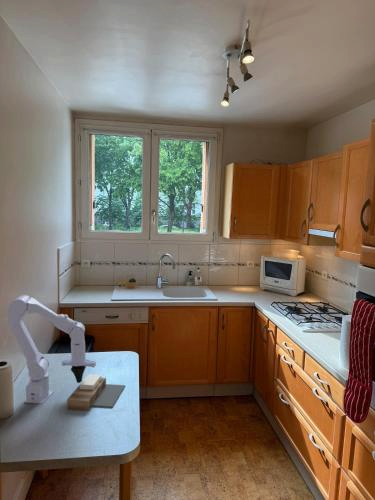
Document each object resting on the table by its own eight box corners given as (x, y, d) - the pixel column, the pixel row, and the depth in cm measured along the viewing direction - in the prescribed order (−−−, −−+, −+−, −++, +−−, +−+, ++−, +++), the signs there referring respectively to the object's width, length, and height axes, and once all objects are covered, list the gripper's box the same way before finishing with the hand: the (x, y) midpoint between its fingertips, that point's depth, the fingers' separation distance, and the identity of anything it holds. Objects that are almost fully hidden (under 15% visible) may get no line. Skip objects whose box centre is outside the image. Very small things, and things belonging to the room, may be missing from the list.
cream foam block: (93, 389, 143) (93, 385, 142) (79, 388, 143) (79, 384, 143) (101, 379, 152) (101, 375, 151) (88, 378, 152) (88, 374, 152)
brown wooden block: (89, 410, 135) (88, 401, 134) (67, 409, 136) (66, 399, 135) (106, 386, 153) (105, 378, 153) (86, 385, 154) (86, 376, 154)
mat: (112, 407, 137) (112, 406, 136) (92, 406, 138) (92, 405, 137) (125, 386, 153) (125, 385, 153) (106, 385, 154) (106, 384, 154)
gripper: (98, 348, 150) (98, 378, 151) (66, 347, 151) (67, 376, 153) (91, 355, 143) (92, 386, 144) (58, 353, 144) (60, 384, 146)
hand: (79, 381), depth 148 cm, fingers closed
